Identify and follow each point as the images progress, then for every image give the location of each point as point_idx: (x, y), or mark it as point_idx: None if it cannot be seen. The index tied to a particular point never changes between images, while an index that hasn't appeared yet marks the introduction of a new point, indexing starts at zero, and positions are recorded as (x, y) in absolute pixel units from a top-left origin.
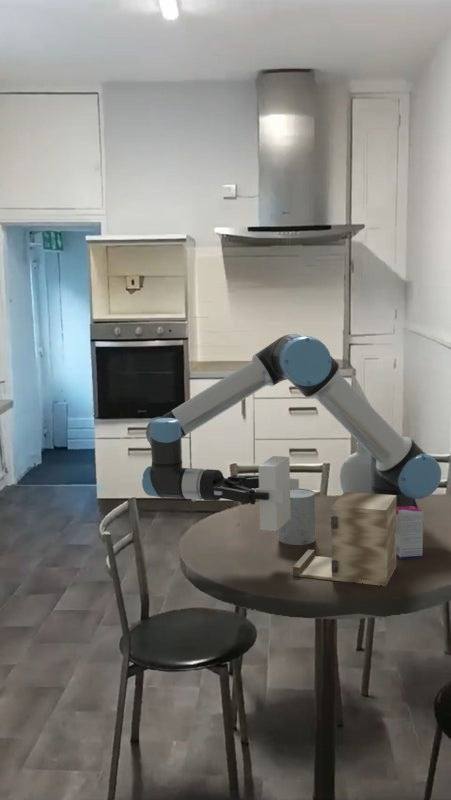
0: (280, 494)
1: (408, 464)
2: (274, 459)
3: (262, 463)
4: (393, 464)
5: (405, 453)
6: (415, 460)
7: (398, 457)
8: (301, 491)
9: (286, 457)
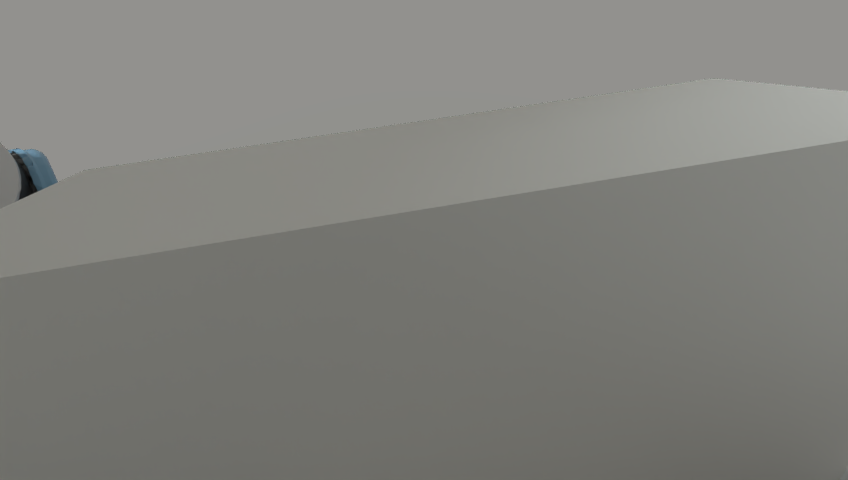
0: None
1: (49, 177)
2: (282, 183)
3: (777, 147)
4: (13, 197)
5: (5, 148)
6: (46, 161)
7: (3, 167)
8: None
9: (124, 170)
